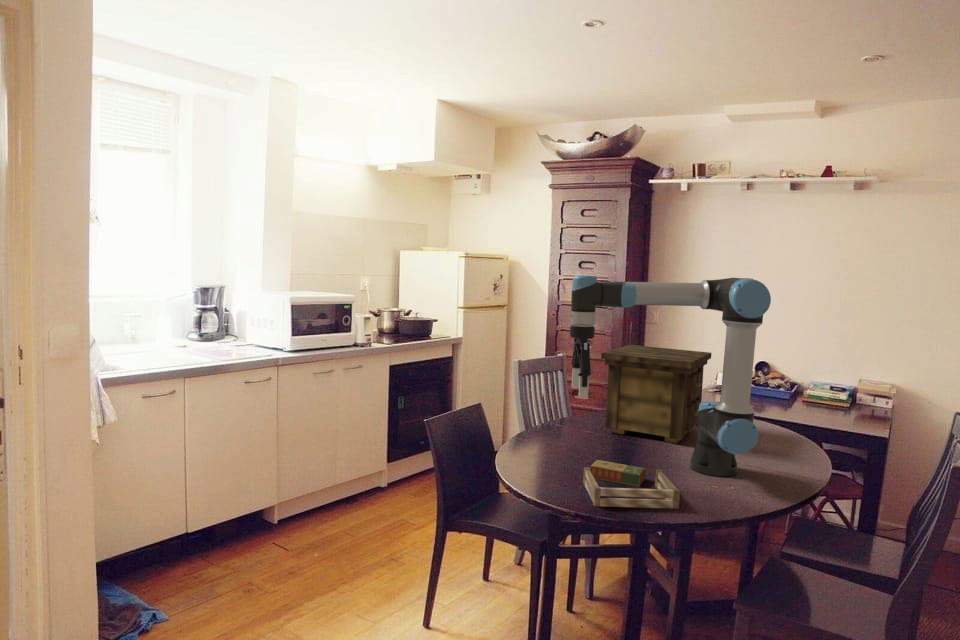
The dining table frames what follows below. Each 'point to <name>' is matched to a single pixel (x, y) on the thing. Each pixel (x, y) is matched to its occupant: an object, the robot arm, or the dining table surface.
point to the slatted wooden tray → (634, 493)
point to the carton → (618, 473)
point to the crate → (654, 390)
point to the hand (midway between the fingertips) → (579, 392)
